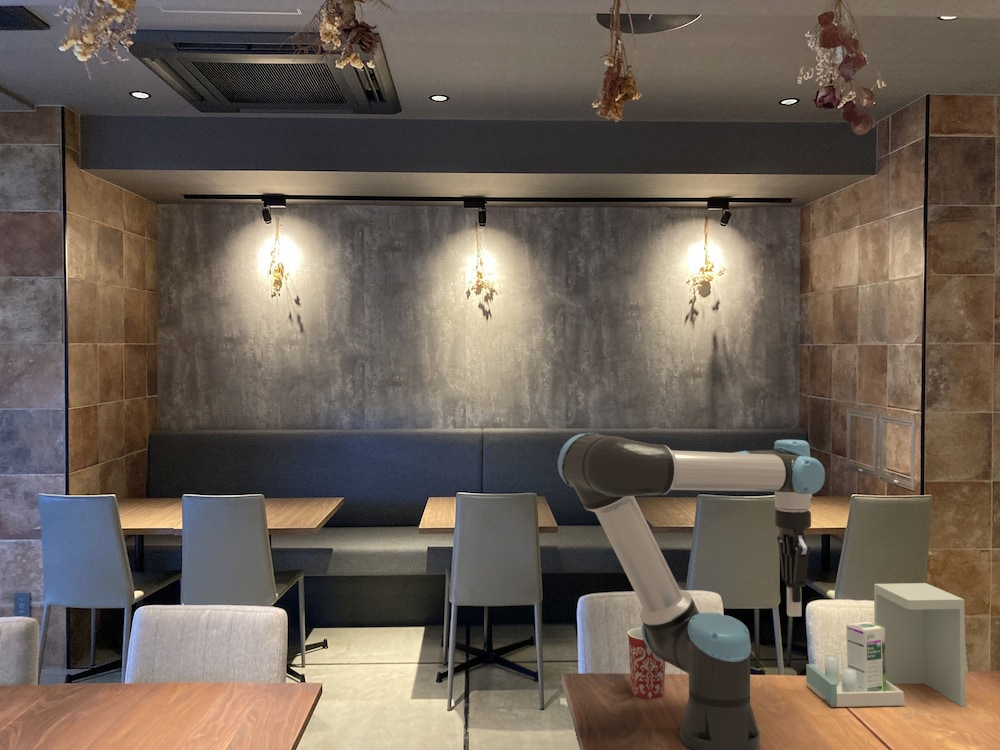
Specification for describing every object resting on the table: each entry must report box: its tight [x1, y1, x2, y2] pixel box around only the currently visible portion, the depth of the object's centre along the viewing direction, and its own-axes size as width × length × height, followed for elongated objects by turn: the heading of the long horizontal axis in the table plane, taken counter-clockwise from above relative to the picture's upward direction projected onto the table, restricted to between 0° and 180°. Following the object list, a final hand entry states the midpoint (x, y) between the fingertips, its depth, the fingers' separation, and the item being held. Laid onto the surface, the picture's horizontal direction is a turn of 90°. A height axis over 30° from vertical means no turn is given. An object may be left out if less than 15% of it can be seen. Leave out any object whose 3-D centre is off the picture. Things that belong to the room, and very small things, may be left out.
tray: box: [805, 654, 905, 708], centre depth 188 cm, size 16×13×7 cm
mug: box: [627, 627, 666, 699], centre depth 192 cm, size 13×9×14 cm
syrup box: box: [846, 621, 886, 692], centre depth 188 cm, size 6×6×14 cm
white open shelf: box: [873, 582, 966, 707], centre depth 189 cm, size 12×15×23 cm
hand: (794, 615), depth 187 cm, fingers closed
